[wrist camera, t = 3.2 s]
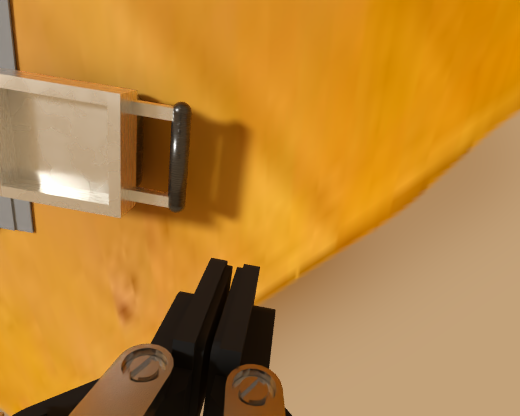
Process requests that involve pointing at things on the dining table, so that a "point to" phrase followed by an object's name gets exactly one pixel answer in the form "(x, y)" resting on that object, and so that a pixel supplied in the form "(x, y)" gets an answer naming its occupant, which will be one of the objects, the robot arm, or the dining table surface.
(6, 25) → the dock
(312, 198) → the dining table surface
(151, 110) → the trolley
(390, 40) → the dining table surface
